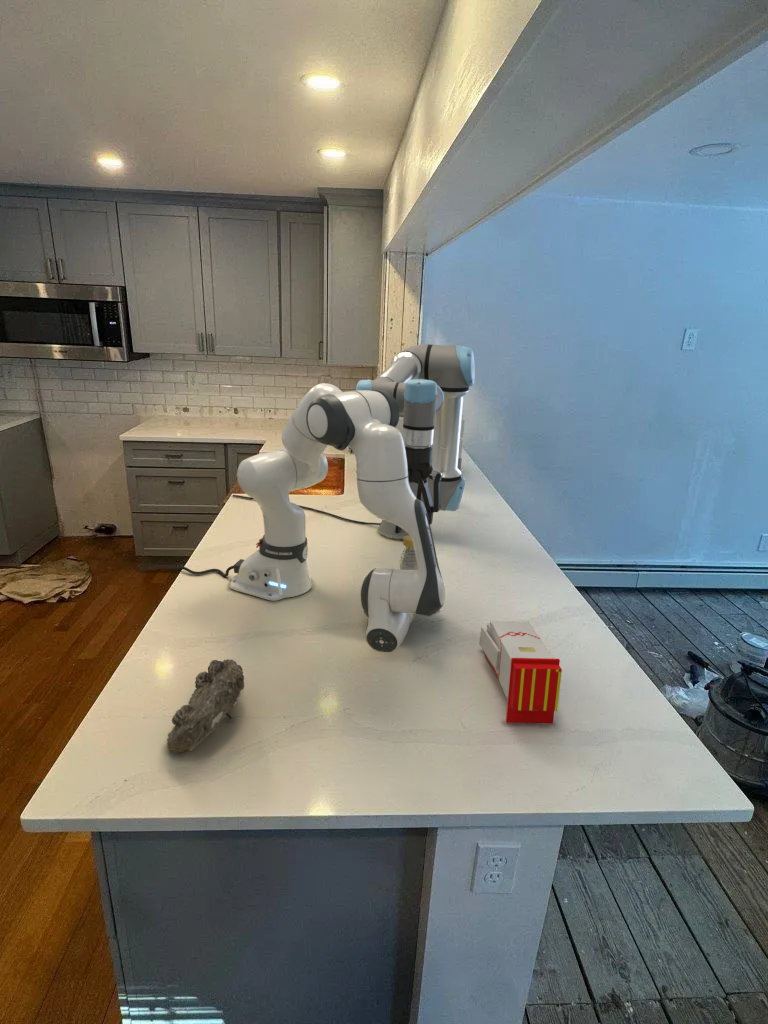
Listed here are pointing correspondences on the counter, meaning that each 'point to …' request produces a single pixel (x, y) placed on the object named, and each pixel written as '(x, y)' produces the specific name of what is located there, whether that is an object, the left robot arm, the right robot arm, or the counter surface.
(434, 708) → the counter surface
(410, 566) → the bottle
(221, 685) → the fossil
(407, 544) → the cap
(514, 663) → the toy
